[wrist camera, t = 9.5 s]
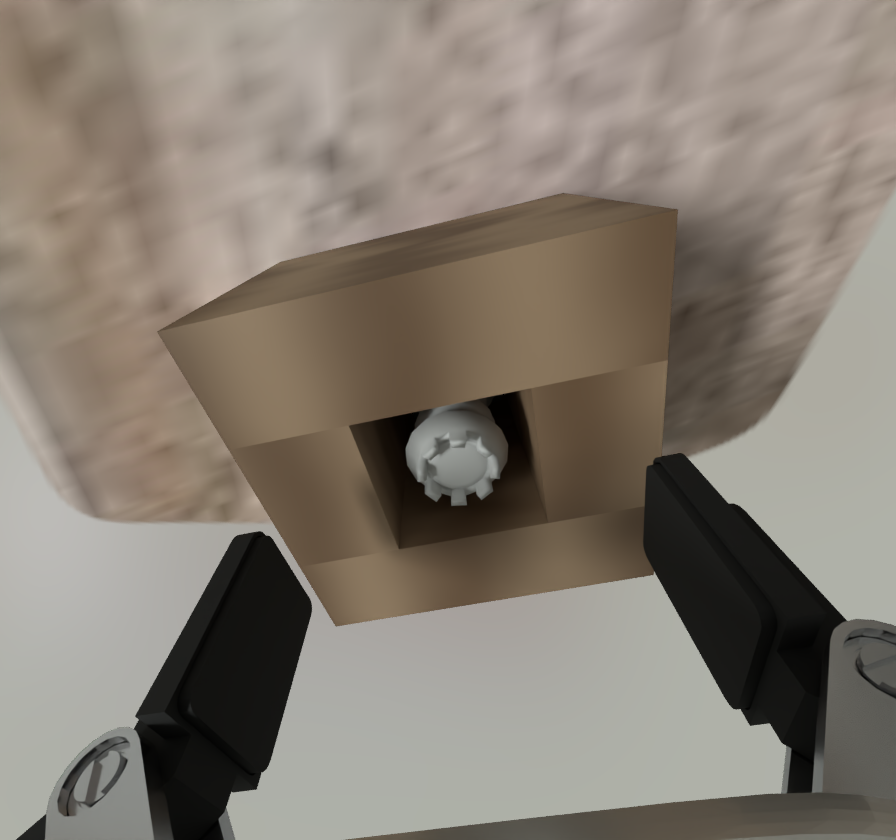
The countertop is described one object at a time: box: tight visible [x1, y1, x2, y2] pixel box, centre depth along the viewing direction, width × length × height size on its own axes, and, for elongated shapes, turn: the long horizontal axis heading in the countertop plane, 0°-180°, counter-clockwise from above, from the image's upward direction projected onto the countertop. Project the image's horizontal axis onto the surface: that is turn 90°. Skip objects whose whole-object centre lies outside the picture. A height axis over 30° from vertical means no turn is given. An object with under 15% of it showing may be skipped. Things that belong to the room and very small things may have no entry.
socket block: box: [158, 193, 678, 626], centre depth 16 cm, size 12×12×9 cm
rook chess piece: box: [406, 396, 508, 506], centre depth 16 cm, size 4×4×8 cm
